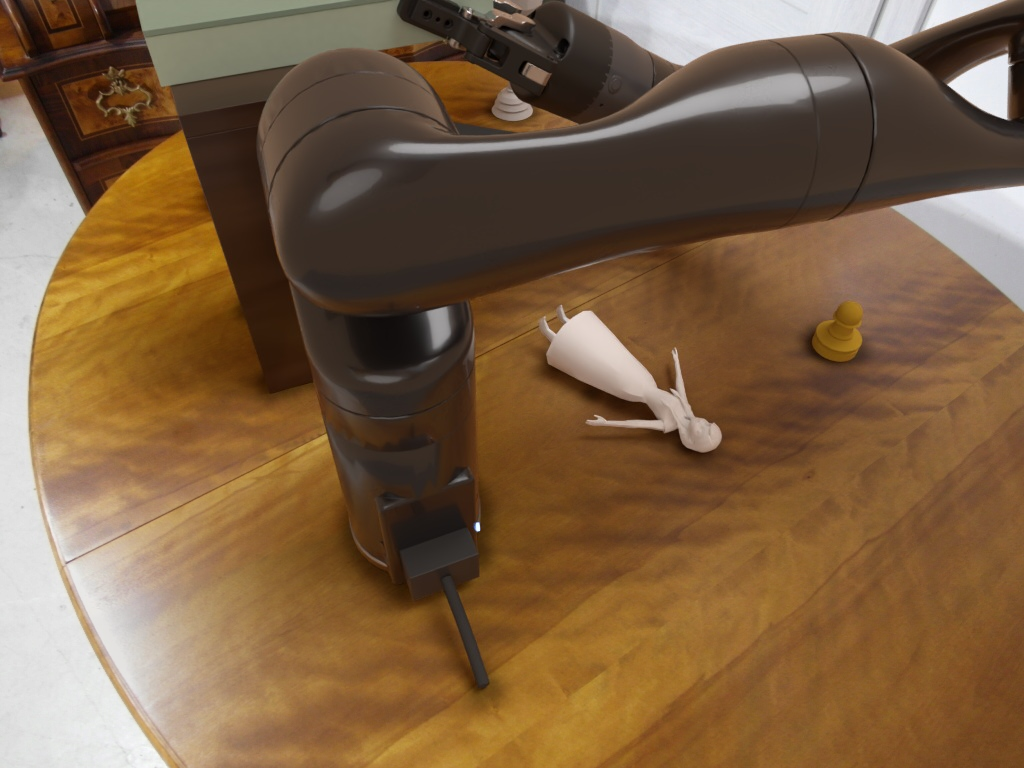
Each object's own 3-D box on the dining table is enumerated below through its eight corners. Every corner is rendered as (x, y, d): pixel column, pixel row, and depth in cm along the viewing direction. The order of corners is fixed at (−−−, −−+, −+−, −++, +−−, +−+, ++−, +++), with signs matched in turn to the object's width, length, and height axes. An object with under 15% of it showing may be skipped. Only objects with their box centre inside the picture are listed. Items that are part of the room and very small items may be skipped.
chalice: (477, 121, 93) (475, -39, 80) (488, 93, 98) (487, -63, 84) (537, 127, 93) (545, -33, 79) (545, 99, 97) (553, -57, 84)
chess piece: (812, 326, 71) (829, 284, 67) (856, 335, 70) (877, 293, 66) (811, 356, 68) (829, 315, 64) (857, 365, 67) (878, 324, 64)
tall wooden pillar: (419, 351, 68) (391, 77, 49) (269, 393, 64) (177, 115, 45) (380, 268, 75) (342, 2, 56) (244, 302, 71) (155, 30, 53)
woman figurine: (596, 269, 68) (768, 388, 61) (589, 305, 72) (751, 421, 64) (502, 334, 63) (679, 474, 55) (499, 370, 66) (665, 505, 59)
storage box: (493, 32, 53) (493, -22, 51) (161, 88, 48) (142, 30, 45) (470, 5, 56) (469, -47, 54) (153, 55, 50) (134, -1, 48)
